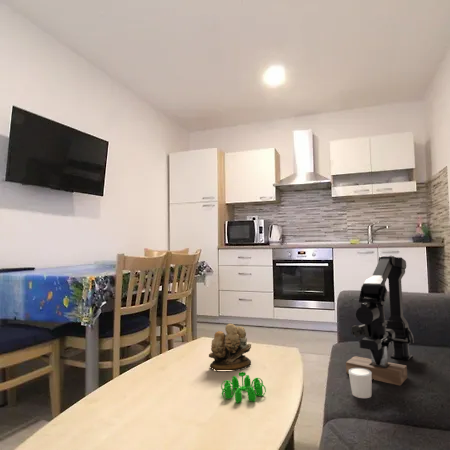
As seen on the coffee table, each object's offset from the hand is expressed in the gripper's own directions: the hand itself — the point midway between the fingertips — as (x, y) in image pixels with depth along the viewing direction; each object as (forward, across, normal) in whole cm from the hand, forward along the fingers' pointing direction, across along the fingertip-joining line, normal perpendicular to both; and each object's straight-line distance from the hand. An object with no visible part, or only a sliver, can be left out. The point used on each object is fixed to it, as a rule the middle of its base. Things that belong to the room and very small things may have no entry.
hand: (379, 363), depth 120 cm
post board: (+4, 0, -2) cm, 5 cm away
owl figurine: (+5, +21, -51) cm, 55 cm away
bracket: (+3, 0, 0) cm, 3 cm away
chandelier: (+5, +38, -30) cm, 49 cm away
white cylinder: (+5, +17, 0) cm, 18 cm away
